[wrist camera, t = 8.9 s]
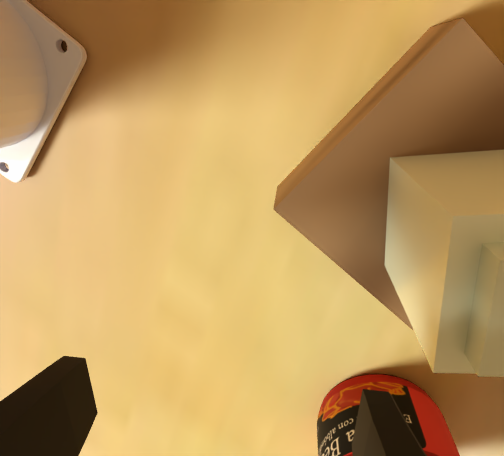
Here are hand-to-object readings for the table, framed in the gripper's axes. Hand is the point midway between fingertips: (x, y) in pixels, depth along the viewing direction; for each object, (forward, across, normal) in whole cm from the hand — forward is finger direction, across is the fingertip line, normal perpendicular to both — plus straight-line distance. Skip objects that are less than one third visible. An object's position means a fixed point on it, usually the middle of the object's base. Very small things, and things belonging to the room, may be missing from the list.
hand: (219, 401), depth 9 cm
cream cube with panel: (+7, -8, -3) cm, 11 cm away
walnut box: (+11, -7, -3) cm, 13 cm away
